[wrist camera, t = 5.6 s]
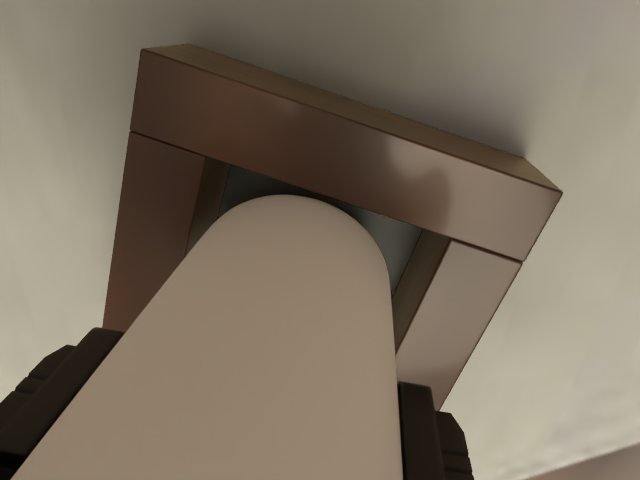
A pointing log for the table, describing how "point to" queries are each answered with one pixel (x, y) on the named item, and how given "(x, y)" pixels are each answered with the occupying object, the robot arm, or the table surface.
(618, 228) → the table surface
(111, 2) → the table surface
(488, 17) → the table surface
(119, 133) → the table surface
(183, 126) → the can stand
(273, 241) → the can
